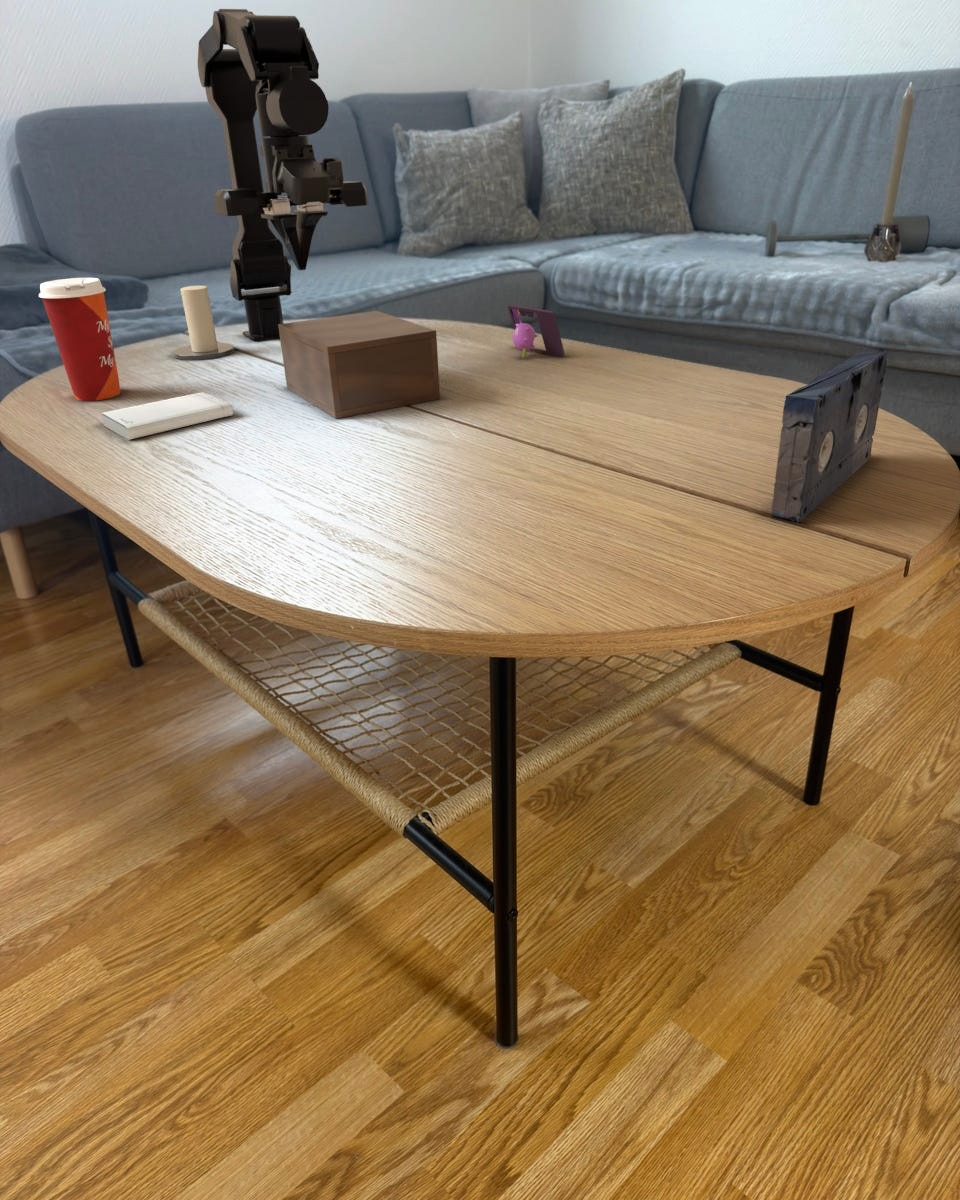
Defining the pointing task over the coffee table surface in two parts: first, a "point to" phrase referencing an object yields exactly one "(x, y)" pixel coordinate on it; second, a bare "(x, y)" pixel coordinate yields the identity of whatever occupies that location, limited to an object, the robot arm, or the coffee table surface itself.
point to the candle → (199, 318)
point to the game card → (526, 333)
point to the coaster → (188, 354)
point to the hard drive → (166, 415)
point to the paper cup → (83, 336)
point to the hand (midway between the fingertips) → (301, 269)
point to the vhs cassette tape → (827, 433)
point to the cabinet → (360, 362)
